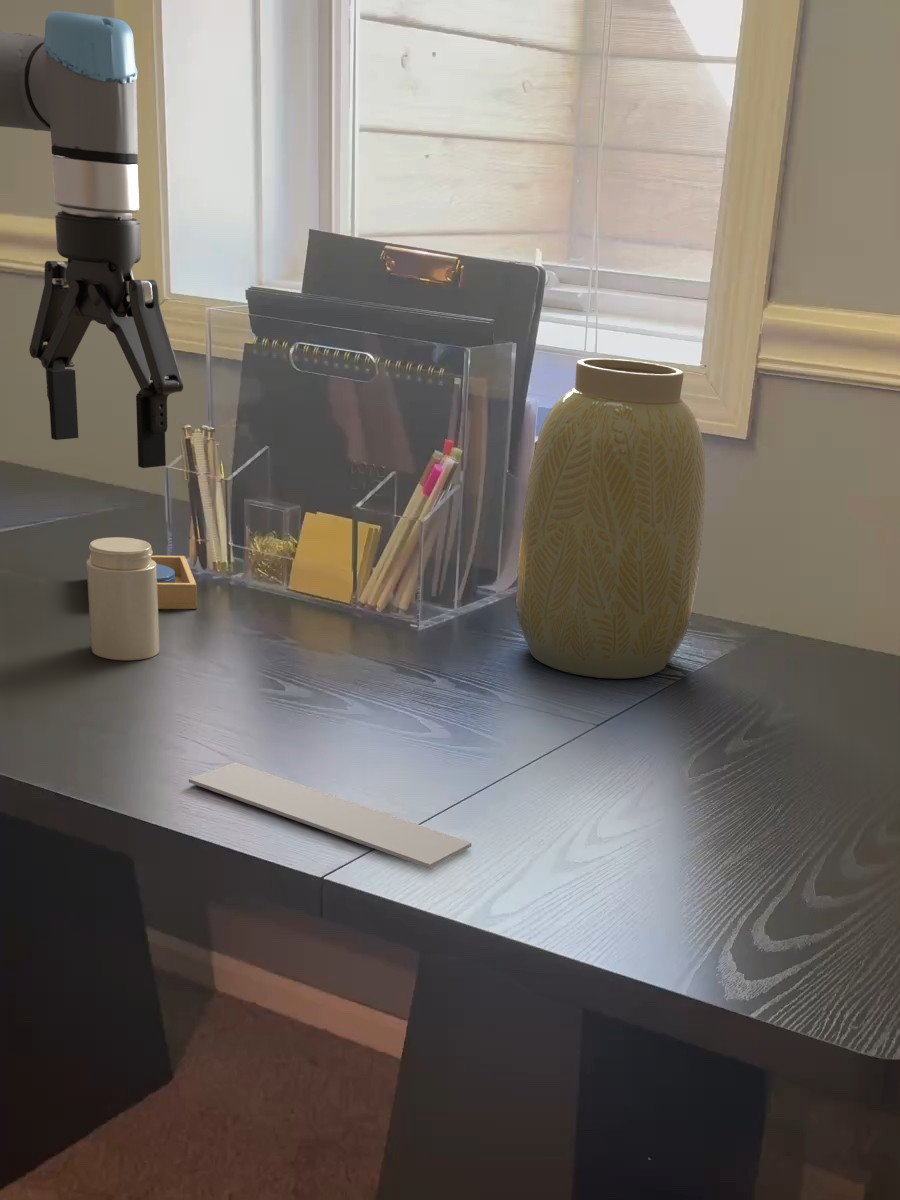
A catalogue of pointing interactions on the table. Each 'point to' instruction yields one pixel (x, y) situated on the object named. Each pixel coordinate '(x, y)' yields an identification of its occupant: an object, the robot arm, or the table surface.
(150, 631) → the jar
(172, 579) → the lid
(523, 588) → the vase
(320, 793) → the nameplate
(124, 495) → the table surface
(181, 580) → the tray
